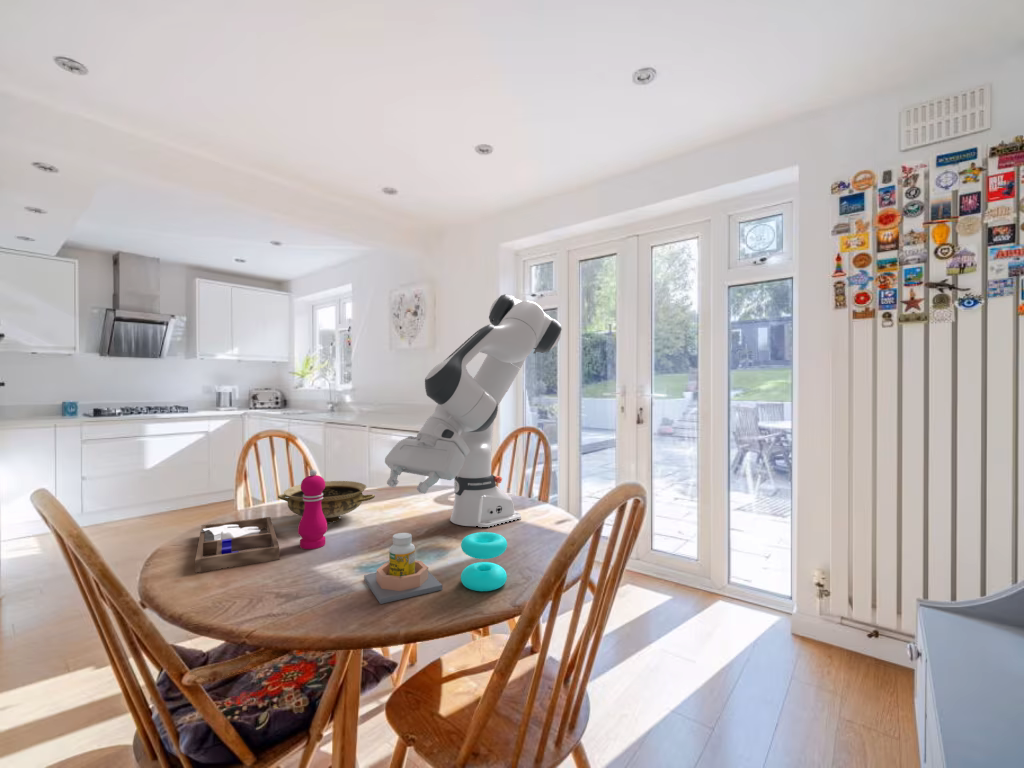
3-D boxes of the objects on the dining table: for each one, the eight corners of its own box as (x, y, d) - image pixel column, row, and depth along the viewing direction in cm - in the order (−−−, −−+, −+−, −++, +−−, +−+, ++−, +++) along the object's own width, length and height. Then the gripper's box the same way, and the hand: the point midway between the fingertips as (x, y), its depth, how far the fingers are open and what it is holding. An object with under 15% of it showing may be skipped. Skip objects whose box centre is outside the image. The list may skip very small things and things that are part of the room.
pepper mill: (316, 551, 121) (317, 472, 121) (291, 548, 123) (292, 471, 123) (332, 541, 128) (333, 467, 128) (308, 539, 130) (309, 466, 130)
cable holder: (238, 563, 113) (238, 547, 113) (221, 566, 111) (221, 549, 111) (238, 553, 120) (238, 537, 120) (221, 555, 118) (222, 539, 118)
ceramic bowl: (385, 510, 159) (385, 480, 159) (360, 533, 136) (360, 498, 135) (297, 508, 161) (297, 479, 160) (256, 531, 137) (256, 496, 137)
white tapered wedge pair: (229, 551, 121) (268, 539, 131) (230, 535, 121) (269, 524, 131) (200, 544, 126) (240, 533, 136) (200, 528, 126) (240, 518, 136)
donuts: (496, 548, 97) (452, 541, 100) (495, 597, 97) (452, 588, 100) (514, 533, 106) (473, 528, 110) (513, 578, 106) (473, 571, 110)
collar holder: (420, 568, 111) (421, 553, 111) (442, 589, 100) (442, 573, 100) (364, 579, 104) (364, 563, 104) (380, 604, 93) (380, 586, 93)
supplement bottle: (419, 577, 104) (420, 533, 103) (405, 587, 99) (405, 541, 99) (398, 573, 106) (399, 530, 105) (383, 582, 101) (384, 537, 100)
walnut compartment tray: (270, 526, 141) (270, 516, 141) (279, 559, 116) (279, 546, 116) (201, 536, 132) (201, 525, 132) (195, 573, 107) (195, 559, 107)
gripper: (398, 427, 116) (365, 474, 108) (463, 434, 105) (431, 486, 97) (412, 444, 120) (381, 489, 112) (475, 451, 108) (446, 503, 100)
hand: (405, 488), depth 104 cm, fingers open, 8 cm apart
